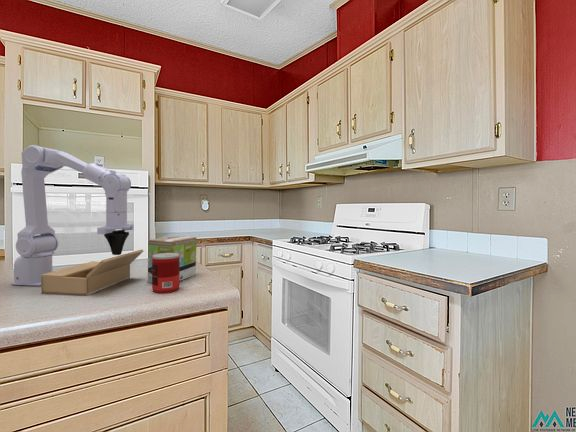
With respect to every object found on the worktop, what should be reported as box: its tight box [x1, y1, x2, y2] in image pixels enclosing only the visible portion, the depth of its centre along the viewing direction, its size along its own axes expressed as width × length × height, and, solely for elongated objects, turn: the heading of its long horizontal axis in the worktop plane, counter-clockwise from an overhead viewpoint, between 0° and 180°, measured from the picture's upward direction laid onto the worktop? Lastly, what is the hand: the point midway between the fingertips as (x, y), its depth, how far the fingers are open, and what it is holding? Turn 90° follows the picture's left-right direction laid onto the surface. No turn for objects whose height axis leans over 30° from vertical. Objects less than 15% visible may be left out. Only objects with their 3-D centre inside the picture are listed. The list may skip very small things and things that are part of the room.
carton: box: [40, 260, 131, 297], centre depth 94 cm, size 14×20×6 cm
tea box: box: [147, 235, 198, 284], centre depth 104 cm, size 15×10×15 cm, turn 168°
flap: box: [86, 249, 144, 278], centre depth 93 cm, size 7×20×1 cm
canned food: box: [151, 253, 180, 294], centre depth 91 cm, size 8×8×11 cm
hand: (116, 254), depth 93 cm, fingers closed
